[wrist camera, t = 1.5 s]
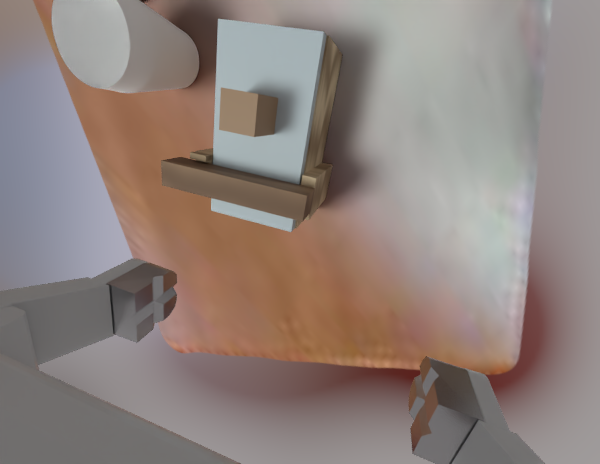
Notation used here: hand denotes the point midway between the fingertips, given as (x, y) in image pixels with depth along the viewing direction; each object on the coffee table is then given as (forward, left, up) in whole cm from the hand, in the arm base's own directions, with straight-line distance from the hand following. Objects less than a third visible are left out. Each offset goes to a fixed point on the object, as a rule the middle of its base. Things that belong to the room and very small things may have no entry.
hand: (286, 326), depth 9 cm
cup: (-9, -26, -30) cm, 40 cm away
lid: (-3, -10, -21) cm, 24 cm away
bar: (+2, -11, -20) cm, 23 cm away
